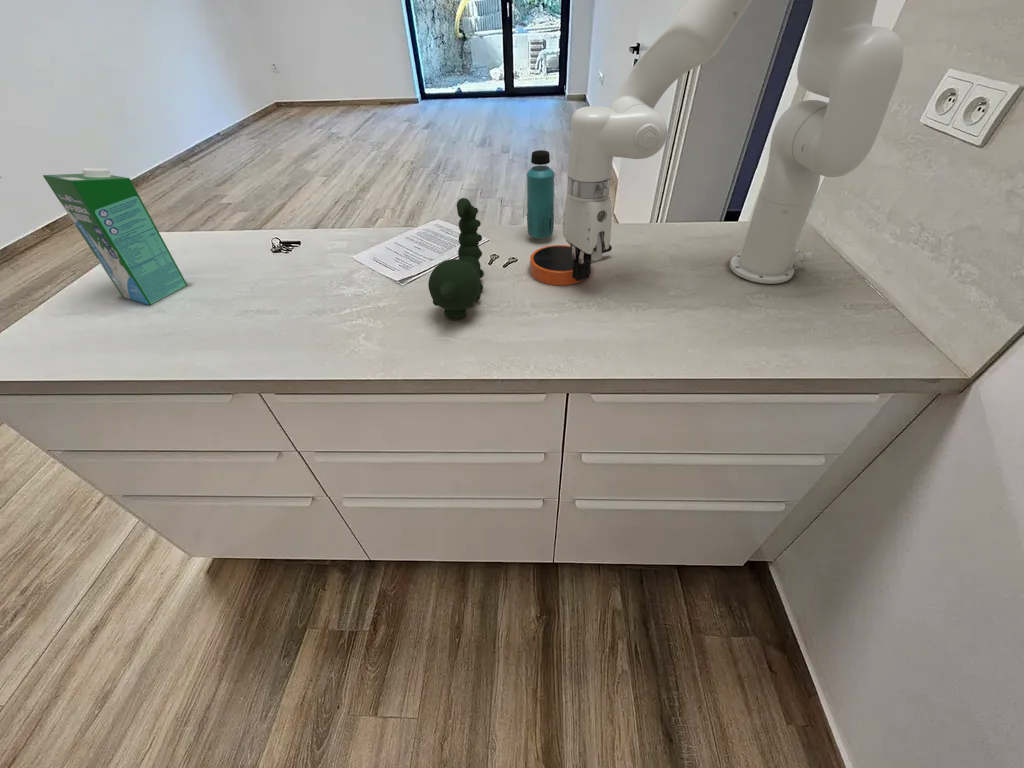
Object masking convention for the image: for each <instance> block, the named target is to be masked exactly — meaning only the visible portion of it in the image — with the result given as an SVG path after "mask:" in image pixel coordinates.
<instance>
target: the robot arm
mask: <svg viewBox="0 0 1024 768" xmlns="http://www.w3.org/2000/svg"><path fill="white" fill-rule="evenodd" d="M752 1H753V0H683V2H682V4H681V5H680V7H679V8H678V10H677V12H676V13H675V15H674V17H673V18H672V20H671V21H670V23H669V24H668V26H667V27H666V28H665V29H664V30H663V31H662V32H661V33H660V34H659V35H658V37H656V39H655V40H654V41H653V42H652V44H651V45H650V46H649V47H648V48H647V49H646V51H645V52H644V53H643V54H641V56H640V57H639V59H637V61H636V62H635V64H633V66H632V68H631V70H630V71H629V72H628V74H627V76H626V77H625V78H624V81H623V82H622V84H621V86H620V88H619V89H618V91H617V93H616V94H615V96H614V98H613V99H612V101H611V103H610V106H609V107H606V106H600V105H590V106H589V105H587V106H582V107H580V108H577V109H576V110H575V111H574V112H573V114H572V116H571V123H570V140H569V154H568V155H569V156H568V175H567V192H566V197H565V201H564V207H563V208H564V209H563V217H562V236H563V238H564V239H565V241H566V243H567V244H568V246H571V249H572V258H573V259H575V260H573V275H572V277H573V278H574V279H575V280H577V281H580V280H583V279H584V280H586V279H589V278H590V275H591V266H592V262H593V261H594V262H598V261H601V260H602V259H603V253H602V249H604V250H607V249H609V246H610V245H611V237H612V220H613V219H612V216H613V215H612V213H613V212H612V211H613V210H612V199H611V197H609V195H610V188H611V178H612V171H613V170H612V169H613V163H614V161H613V160H614V158H624V159H631V160H644V159H649V158H651V157H653V156H655V155H656V154H657V153H659V152H660V150H661V149H662V148H663V147H664V145H665V143H666V141H667V137H668V125H667V122H666V120H665V118H664V117H663V116H662V115H661V113H660V112H659V111H657V110H655V107H656V106H657V104H658V102H659V100H660V99H661V98H662V97H663V95H664V94H665V93H666V91H667V90H668V89H669V88H670V87H671V86H672V85H673V84H674V83H675V82H676V81H677V80H678V79H680V78H681V77H682V76H683V75H684V74H686V73H688V72H691V70H694V69H696V68H698V67H699V66H701V65H704V64H705V63H707V62H708V61H710V60H711V59H712V58H714V57H715V56H716V55H717V54H718V53H719V52H720V50H721V49H722V47H723V45H724V44H725V43H726V41H727V39H728V37H729V36H730V34H731V33H732V31H733V30H734V28H735V27H736V25H737V24H738V23H739V21H740V20H741V18H742V17H743V15H744V13H745V12H746V10H747V9H748V8H749V6H750V4H751V3H752ZM877 4H878V0H812V6H811V10H810V15H809V19H808V24H807V28H806V30H805V34H804V35H805V36H804V39H803V43H802V47H801V50H800V51H801V52H800V55H799V60H798V63H797V68H796V69H797V70H796V79H797V82H798V84H799V85H800V86H801V88H803V89H804V90H806V91H807V92H810V93H812V94H815V95H819V96H821V97H825V98H827V99H828V102H827V101H824V100H820V99H819V100H818V99H807V100H802V101H798V102H797V103H795V104H793V105H791V106H790V107H789V108H787V109H786V110H785V111H784V112H783V113H782V114H781V115H780V117H778V120H777V121H776V123H775V126H774V129H773V131H772V134H771V139H770V144H769V145H770V146H769V153H768V161H767V165H766V170H765V174H764V178H763V181H762V185H761V189H760V191H759V194H758V197H757V201H756V204H755V207H754V210H753V213H752V217H751V219H750V223H749V227H748V229H747V233H746V236H745V238H744V242H743V245H742V248H741V252H740V253H738V254H735V255H733V256H732V257H731V259H730V261H729V268H730V270H731V272H733V273H734V274H735V275H736V276H738V277H740V278H742V279H744V280H747V281H750V282H753V283H758V284H769V285H775V284H776V285H777V284H783V283H786V282H788V281H789V280H791V279H792V278H793V276H794V274H795V268H794V265H797V264H798V263H807V262H811V261H812V260H813V257H814V256H813V253H812V252H811V251H807V252H800V249H799V248H796V246H797V244H798V241H799V239H800V236H801V233H802V231H803V228H804V225H805V223H806V221H807V219H808V217H809V213H810V211H811V208H812V205H813V203H814V200H815V198H816V195H817V193H818V190H819V186H820V181H821V176H823V177H826V178H840V177H843V176H846V175H847V174H849V173H851V172H853V171H854V170H855V169H857V168H858V167H859V166H860V165H861V164H862V163H863V161H865V159H866V158H867V156H868V155H869V153H870V151H871V150H872V148H873V146H874V144H875V142H876V140H877V137H878V134H879V132H880V130H881V127H882V124H883V121H884V118H885V116H886V112H887V111H888V108H889V105H890V102H891V100H892V97H893V95H894V92H895V89H896V86H897V83H898V81H899V78H900V75H901V71H902V68H903V63H904V47H903V42H902V40H901V38H900V37H899V35H898V34H897V33H896V32H895V31H893V30H891V29H889V28H886V27H882V26H874V25H873V19H874V16H875V11H876V7H877ZM584 280H583V281H584Z"/></svg>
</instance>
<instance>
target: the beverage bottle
mask: <svg viewBox="0 0 1024 768" xmlns="http://www.w3.org/2000/svg"><path fill="white" fill-rule="evenodd" d="M550 157H551V156H550V151H548V150H545V149H544V150H543V149H540V150H534V151H532V152H531V158H530V163H531V164H533V165H534V166H532V167H531V168H529V170H528V171H527V173H526V195H527V196H526V212H527V213H526V224H527V225H526V226H527V231H526V232H527V234H528V236H529V237H531V238H534V239H546V238H549V237H551V236H552V235H553V234H554V229H555V228H554V227H555V223H554V222H555V171H554V170H553V169H552V168H551V167H550V166H547V165H548V164H550V162H551V158H550Z"/></svg>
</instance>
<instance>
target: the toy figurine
mask: <svg viewBox="0 0 1024 768" xmlns="http://www.w3.org/2000/svg"><path fill="white" fill-rule="evenodd" d="M456 211H457V216H458V217H459V218H460V219H459V221H458V228H459V231H460V233H459V235H458V244H459V247H458V250H457V255H458V256H457V257H458V259H457V258H452V259H451V258H450V259H446V260H443V261H441V262H440V263H439V264H437V265H436V266H435V267H434V268H433V269H432V271H431V274H430V275H429V278H428V282H427V283H428V284H427V286H428V291H429V293H430V297H431V300H432V304H433V306H436V307H439V308H442V309H444V310H443V315H444V316H445V318H447V319H448V320H450V321H461V320H464V319H465V318H466V316H467V312H468V311H467V309H469V308H472V307H473V305H474V304H475V303H476V302H478V301H479V300H480V299H481V296H482V294H481V293H482V291H483V290H484V285H483V284H482V282H481V279H482V278H483V277H484V275H485V272H484V270H483V269H481V263H480V261H479V260H480V258H481V257H482V256H483V252H482V250H481V249H480V247H479V245H480V242H482V240H483V236H482V234H479V233H478V229H479V227H481V225H482V224H481V220H479V219H476V217H477V214H478V213H479V209H478V208H477V207H475V206H473V205H472V203H471V201H470V200H469V199H468V198H465V197H461V198H459V199H458V201H457V202H456Z"/></svg>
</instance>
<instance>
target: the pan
mask: <svg viewBox="0 0 1024 768" xmlns="http://www.w3.org/2000/svg"><path fill="white" fill-rule="evenodd" d="M612 249H613V247H612V245H611V244H610V246H609V249H607V250H604V249H602V254H606V253H609V252H611V251H612ZM573 260H575V259H573V258H572V249H571V246H570V245H567V244H553V245H552V244H551V245H546V246H542V247H540V248H538V249H536V250H534V251H533V252H532V253H531V255H530V257H529V272H530V275H531V276H532V278H533V279H535V280H536V281H537V282H540V283H542V284H546V285H549V286H570V285H575V284H577V283H581V282H583V281H584V280H585V279H583V280H580V281H577V280H575V279H574V278H573V277H572V275H573Z"/></svg>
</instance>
